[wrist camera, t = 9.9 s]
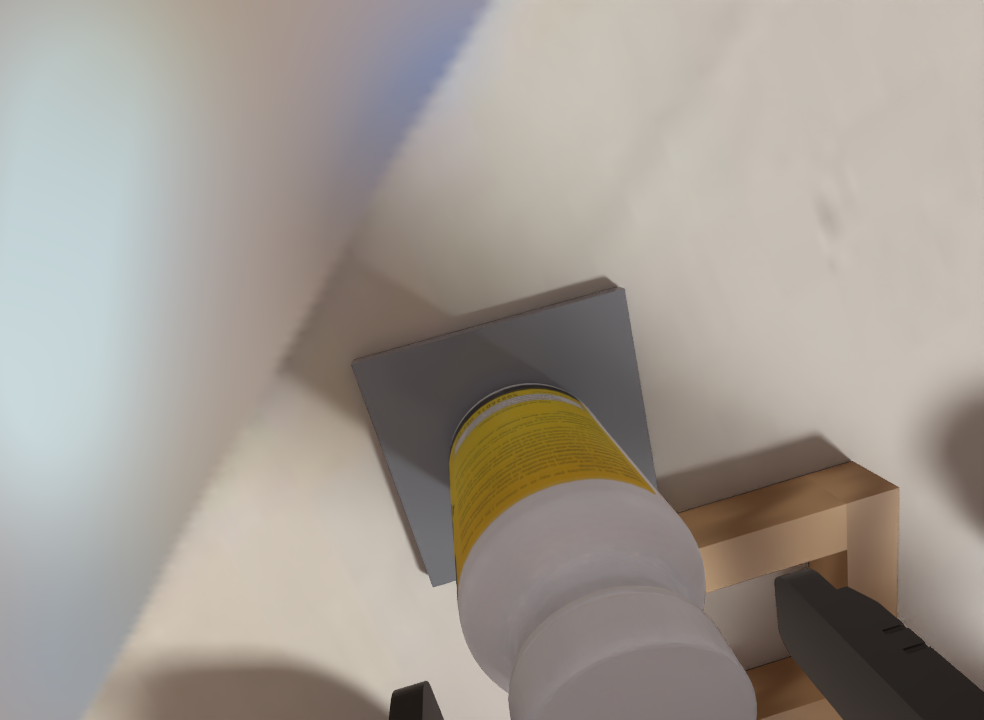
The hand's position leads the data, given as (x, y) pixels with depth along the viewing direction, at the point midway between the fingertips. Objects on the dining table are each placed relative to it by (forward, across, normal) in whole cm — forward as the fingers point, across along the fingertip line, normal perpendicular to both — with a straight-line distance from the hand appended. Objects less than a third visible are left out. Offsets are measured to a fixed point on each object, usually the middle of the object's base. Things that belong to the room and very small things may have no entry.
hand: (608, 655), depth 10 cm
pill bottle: (+10, 0, 0) cm, 10 cm away
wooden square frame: (+11, -9, +13) cm, 19 cm away
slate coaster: (+10, 0, 0) cm, 10 cm away
